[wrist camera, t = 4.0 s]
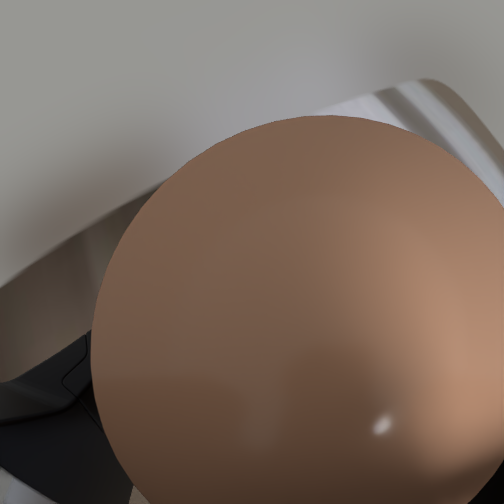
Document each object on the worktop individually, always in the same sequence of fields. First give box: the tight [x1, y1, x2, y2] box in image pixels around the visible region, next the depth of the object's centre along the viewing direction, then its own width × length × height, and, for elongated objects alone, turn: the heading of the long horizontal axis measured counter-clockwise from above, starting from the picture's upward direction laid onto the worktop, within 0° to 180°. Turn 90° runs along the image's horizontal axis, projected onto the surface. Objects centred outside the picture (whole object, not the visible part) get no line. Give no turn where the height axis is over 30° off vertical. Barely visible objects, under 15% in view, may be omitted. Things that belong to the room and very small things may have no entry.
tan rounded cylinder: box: [91, 115, 504, 504], centre depth 9 cm, size 7×7×12 cm
